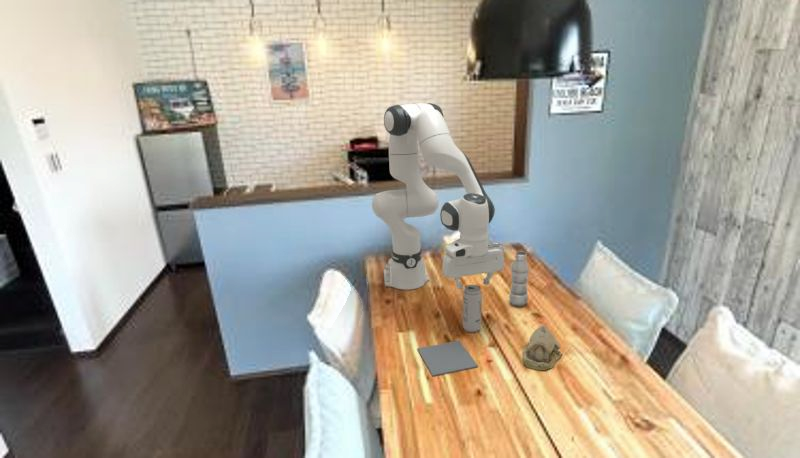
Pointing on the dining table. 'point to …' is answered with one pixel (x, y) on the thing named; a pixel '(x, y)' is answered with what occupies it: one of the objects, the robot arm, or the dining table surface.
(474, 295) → the energy drink can
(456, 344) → the mat
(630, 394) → the dining table surface
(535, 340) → the ceramic model
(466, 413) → the dining table surface
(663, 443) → the dining table surface
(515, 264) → the plastic bottle
